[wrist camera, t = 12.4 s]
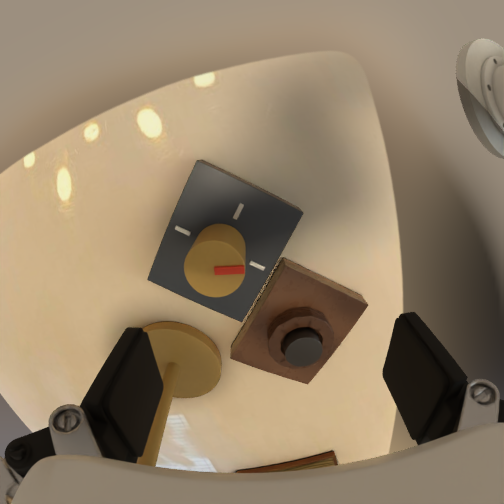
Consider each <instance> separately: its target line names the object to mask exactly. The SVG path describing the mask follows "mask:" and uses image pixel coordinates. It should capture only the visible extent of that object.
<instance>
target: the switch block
mask: <svg viewBox="0 0 504 504" xmlns="http://www.w3.org/2000/svg"><path fill="white" fill-rule="evenodd" d="M367 306H368V304H367V302H366V301H365V300H364V298H363V297H362V296H361V295H360V294H357V293H355V292H353V291H351V290H349V289H347V288H345V287H343V286H341V285H339V284H337V283H335V282H333V281H331V280H329V279H327V278H325V277H322V276H320V275H318V274H316V273H314V272H312V271H310V270H308V269H306V268H304V267H302V266H300V265H298V264H296V263H293V262H291V261H289V260H287V259H285V258H283V259H282V260H281V262H280V264H279V266H278V267H277V269H276V271H275V273H274V274H273V276H272V278H271V280H270V281H269V283H268V285H267V287H266V288H265V290H264V292H263V293H262V295H261V297H260V299H259V300H258V302H257V304H256V305H255V307H254V309H253V311H252V312H251V314H250V316H249V317H248V319H247V321H246V322H245V324H244V326H243V328H242V329H241V331H240V333H239V334H238V336H237V338H236V339H235V341H234V343H233V344H232V346H231V356H230V358H231V359H233V360H236V361H239V362H241V363H244V364H247V365H250V366H252V367H255V368H258V369H261V370H264V371H267V372H270V373H273V374H276V375H279V376H282V377H285V378H289V379H292V380H295V381H298V382H302V383H305V384H309V382H310V381H311V380H312V379H313V378H314V376H315V375H316V374H317V373H318V372H319V370H320V369H321V368H322V367H323V365H324V364H325V363H326V362H327V360H328V359H329V358H330V357H331V355H332V354H333V353H334V352H335V350H336V349H337V348H338V346H339V345H340V344H341V342H342V341H343V340H344V338H345V337H346V336H347V334H348V333H349V332H350V330H351V329H352V328H353V326H354V325H355V323H356V322H357V321H358V319H359V318H360V316H361V315H362V314H363V312H364V311H365V309H366V308H367ZM301 327H306V328H310V329H313V330H314V331H315V332H316V333H317V334H318V336H319V339H320V342H321V344H322V348H323V351H322V355H321V356H320V358H319V359H318V360H317V361H316V362H315V363H313V364H311V365H308V366H303V367H298V366H294V365H292V364H290V363H289V362H288V361H287V360H286V357H285V352H284V347H283V341H284V339H285V337H286V335H287V334H288V333H289V332H291V331H292V330H294V329H297V328H301Z"/></svg>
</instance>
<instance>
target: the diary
mask: <svg viewBox="0 0 504 504" xmlns="http://www.w3.org/2000/svg"><path fill="white" fill-rule="evenodd" d="M336 465H338V464H337V460H336V457H335V453H334V451H332V452H329V453H325V454H322V455H318V456H314V457H310V458H306V459H302V460H298V461H293V462H289V463H284V464H279V465H273V466H268V467H262V468H256V469H249V470H241V471H237V472H236V473H270V472H286V471H298V470H307V469H315V468H323V467H329V466H336Z"/></svg>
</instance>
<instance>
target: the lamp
mask: <svg viewBox="0 0 504 504" xmlns="http://www.w3.org/2000/svg"><path fill="white" fill-rule="evenodd" d="M143 331H144V332H147V333H148V336H149V339H150V343H151V346H152V349H153V353H154V356H155V359H156V362H157V366H158V369H159V372H160V375H161V378H162V381H163V385H164V388H163V393H162V396H161V399H160V402H159V405H158V408H157V411H156V414H155V417H154V421H153V424H152V427H151V430H150V433H149V437H148V440H147V443H146V446H145V450H144V453H143V456H142V457H138V460H137V463H136V464H141V465H147V466H153V467H155V466H156V462H157V457H158V453H159V449H160V445H161V441H162V437H163V433H164V429H165V425H166V421H167V417H168V413H169V409H170V405H171V402H172V398H173V397H177V398H193V397H198V396H201V395H204V394H206V393H208V392H209V391H211V390H212V389H213V388H214V387H215V386H216V384H217V383H218V381H219V378H220V373H221V364H222V363H221V356H220V353H219V351H218V349H217V347H216V346H215V344H214V343H213V342H212V341H211V340H210V339H209V338H208V337H207V336H206V335H205V334H204V333H202V332H201V331H199V330H197V329H195V328H193V327H191V326H189V325H186V324H182V323H178V322H169V321H165V322H157V323H153V324H150V325H148V326H146V327H145V328H143Z"/></svg>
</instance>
